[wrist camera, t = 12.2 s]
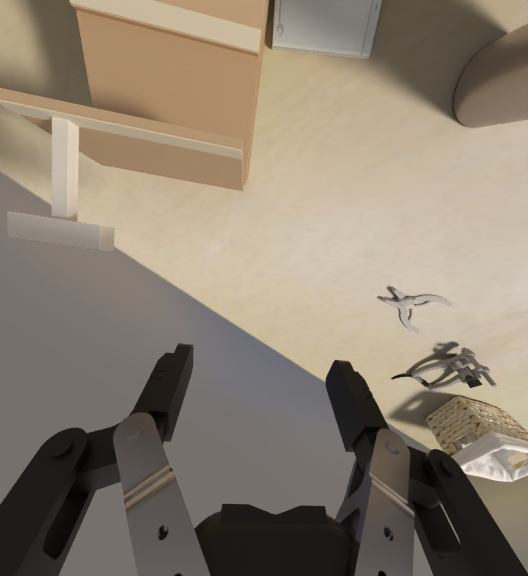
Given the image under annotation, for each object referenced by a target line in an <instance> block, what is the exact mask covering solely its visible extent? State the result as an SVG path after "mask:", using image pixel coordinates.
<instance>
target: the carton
mask: <svg viewBox="0 0 528 576" xmlns="http://www.w3.org/2000/svg"><path fill="white" fill-rule="evenodd" d="M69 1H70V3H71V6H72V7H74V8H75V9H76V14H77V20H78V25H79V31H80V37H81V43H82V48H83V54H84V60H85V66H86V71H87V77H88V83H89V89H90V94H91V100H92V106H93V108H98V109H102V110H107V111H112V112H116V113H121V114H126V115H130V116H135V117H140V118H145V119H149V120H154V121H159V122H163V123H168V124H173V125H177V126H182V127H187V128H191V129H196V130H201V131H206V132H210V133H215V134H220V135H224V136H229V137H234V138H238V139H243V185H245V184H246V182H247V180H248V172H249V163H250V155H251V147H252V139H253V131H254V123H255V114H256V106H257V98H258V90H259V82H260V73H261V65H262V57H263V49H264V41H265V33H266V24H267V16H268V8H269V0H69Z"/></svg>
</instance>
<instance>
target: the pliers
mask: <svg viewBox="0 0 528 576" xmlns="http://www.w3.org/2000/svg"><path fill="white" fill-rule="evenodd" d="M391 290H392V291H393V292H394V293H395V294H396V296H397V297H398V298H397V299H391V298H386V297H383V298H382V300H383V301H384V302H385V303H387V304H389V305H392V306H394V307H396V308H399V310H400V318H401V321H402V322H403V324H404V325H405V326H406V327H407V328H409V329H410V330H412V331H414V332H418V333H419V332H420V331H419V330H418V329H416V328H415V327H414V326H413V325H412V324H411V323H410V322H411V319H412V317H413V311H412V309H410V311H411V315H410V317H409V319H408V317H407V309H406V308H405V307H406V306H408V305H409V304H415V303H417V302H422V301H427V302H425V303H422V304H416V305H415V306H423V305H426V304H429V303H431V302H433V301H436V302H441V303H444V304H447V305H449V306H451V305H452V304H451V303H450V302H449V301H448V300H446V299H444V298H442V297H440V296H436V295H420V296H416V297H406V296H405V295H404V294H403V293H401V292H400V291H398V290H397V289H395V288H394V287H392V288H391Z"/></svg>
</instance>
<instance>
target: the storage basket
mask: <svg viewBox="0 0 528 576" xmlns="http://www.w3.org/2000/svg"><path fill="white" fill-rule="evenodd" d="M425 420H426V422H427V424H428V425H429V427H430V428H431V430H432V433H433V434H434V435H435V437H436V440H437V442H438V443H439V444H440V446H441V448H442V449H443V451H444V452H445V453H447V454H448V455H449V456H451V457H452V458H453V459H454V460H455V461H456V462H457V463H458V464H459V466H460V467H461V468H462V470H463V471H464V473H466V474H469V475H474V476H479V477H484V478H488V479H492V480H496V481H505V482H506V481H509V482H513V481H514V480H516V479H519V478H522V477H524V476H527V475H528V459H526V460H524V461H521V462H519V463H517V464H515V465H514V466H512V465H511V464H510V462H508V461H507V459H506V458H507V457H509V456H510V455H512V454H515V453H517V452H524V453H526V454H527V456H528V431H527V430H526V429H524V428H523V427H522V426H521V425H520V424H519V423H518V422H517V421H515V419H513V418H512V417H511V416H510V415H508V414H507V413H506V412H505V411H503V410H501V409H498V408H495V407H492V406H490V405H487V404H483V403H480V402H478V401H474V400H471V399H467V398H463V397H460V396H456V397H454V398H452V399H451V400H450V401H448V402H446V403H445V404H444V405H442V406H441V407H439V408H438V409H436V410H435V411H434V412H433V413H431V414H429V415H428V417H426V419H425Z"/></svg>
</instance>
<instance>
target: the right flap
mask: <svg viewBox="0 0 528 576" xmlns="http://www.w3.org/2000/svg"><path fill="white" fill-rule="evenodd" d="M0 105H2V106H3V107H5V108H7V109H8V110H10V111H12V112H13V113H15V114H19V115H21V116H22V117H24V118H26V119H27V120H29V121H31V122H32V123H34V124H36V125H37V126H39V127H40V128H42V129H44V130H45V131H47V132H49V133H50V134H52V218H49V217H42V216H36V215H30V214H23V213H17V212H10V211H7V226H8V237H10V238H16V239H23V240H31V241H37V242H44V243H51V244H58V245H65V246H72V247H79V248H86V249H93V250H110V251H111V250H112V251H113V250H114V228H111V227H105V226H100V225H94V224H87V223H81V222H77V208H78V159H79V151H80V152H81V153H83V154H85V155H86V156H88V157H89V158H91V159H93V160H94V161H96V162H98V163H99V164H101V165H105V166H110V167H116V168H121V169H126V170H132V171H137V172H142V173H148V174H153V175H159V176H164V177H169V178H175V179H180V180H186V181H191V182H196V183H202V184H207V185H212V186H218V187H223V188H229V189H234V190H239V191H243V139H238V138H234V137H229V136H224V135H220V134H215V133H210V132H206V131H201V130H196V129H191V128H187V127H182V126H177V125H173V124H168V123H163V122H159V121H154V120H149V119H145V118H140V117H135V116H130V115H126V114H121V113H116V112H112V111H107V110H102V109H98V108H93V107H88V106H83V105H79V104H74V103H69V102H65V101H60V100H55V99H51V98H46V97H41V96H37V95H32V94H27V93H22V92H18V91H13V90H8V89H4V88H0Z"/></svg>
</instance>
